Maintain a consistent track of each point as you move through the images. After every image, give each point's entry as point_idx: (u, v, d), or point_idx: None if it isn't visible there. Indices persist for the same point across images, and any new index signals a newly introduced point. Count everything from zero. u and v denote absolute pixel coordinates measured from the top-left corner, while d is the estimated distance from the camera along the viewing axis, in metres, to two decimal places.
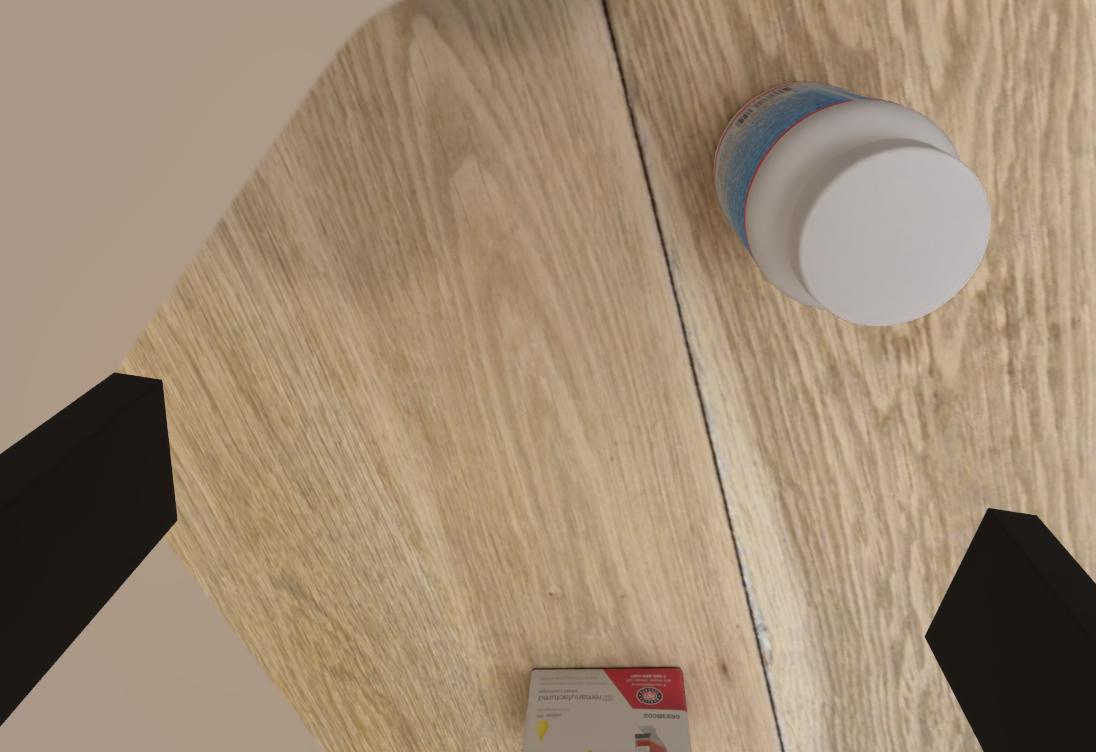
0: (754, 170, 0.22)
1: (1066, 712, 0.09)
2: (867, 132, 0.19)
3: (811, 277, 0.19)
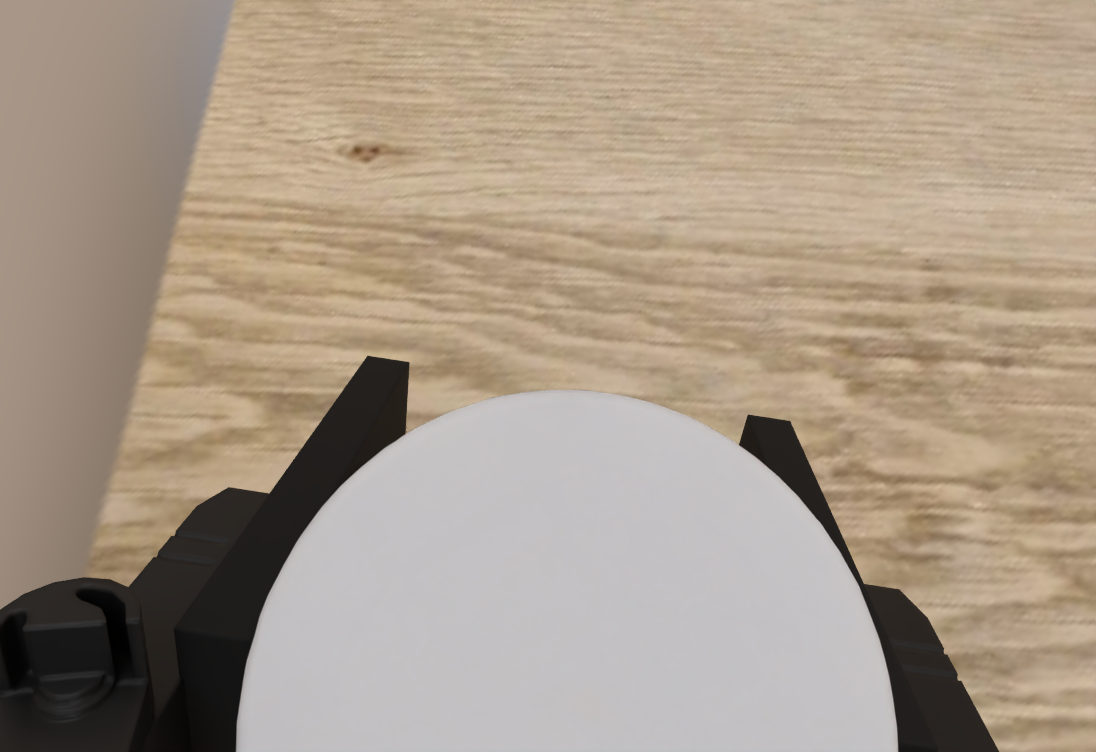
0: None
1: None
2: None
3: None
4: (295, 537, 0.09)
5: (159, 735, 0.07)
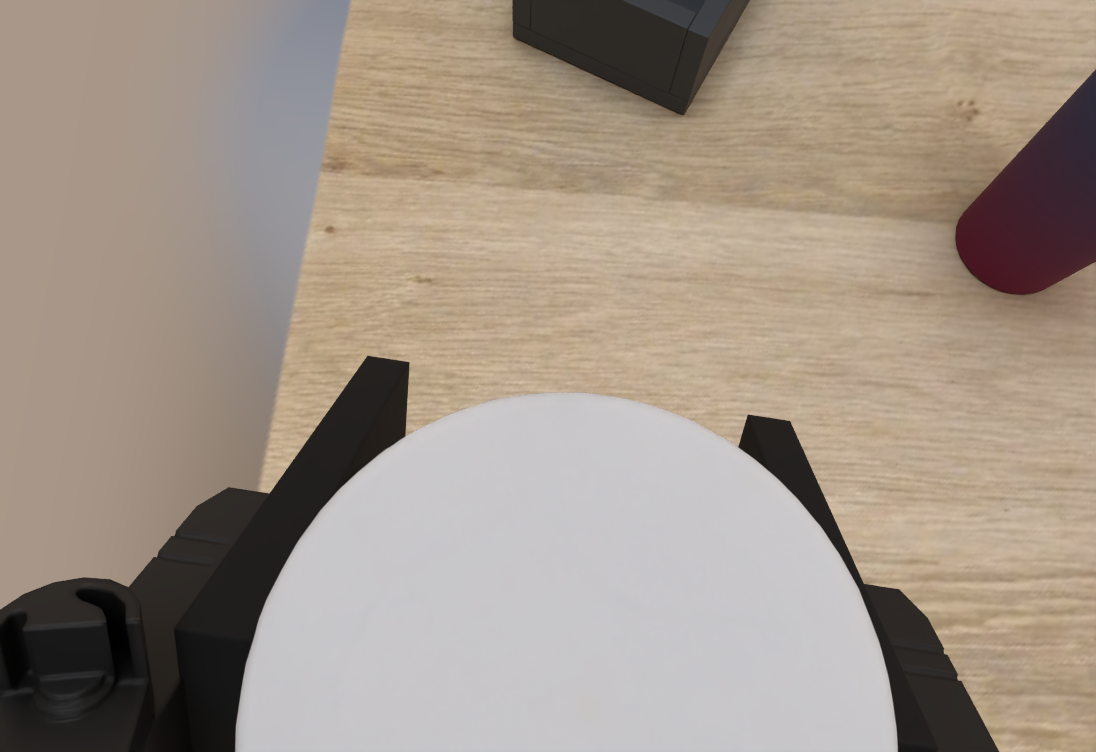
0: None
1: None
2: None
3: None
4: (295, 537, 0.09)
5: (158, 736, 0.07)
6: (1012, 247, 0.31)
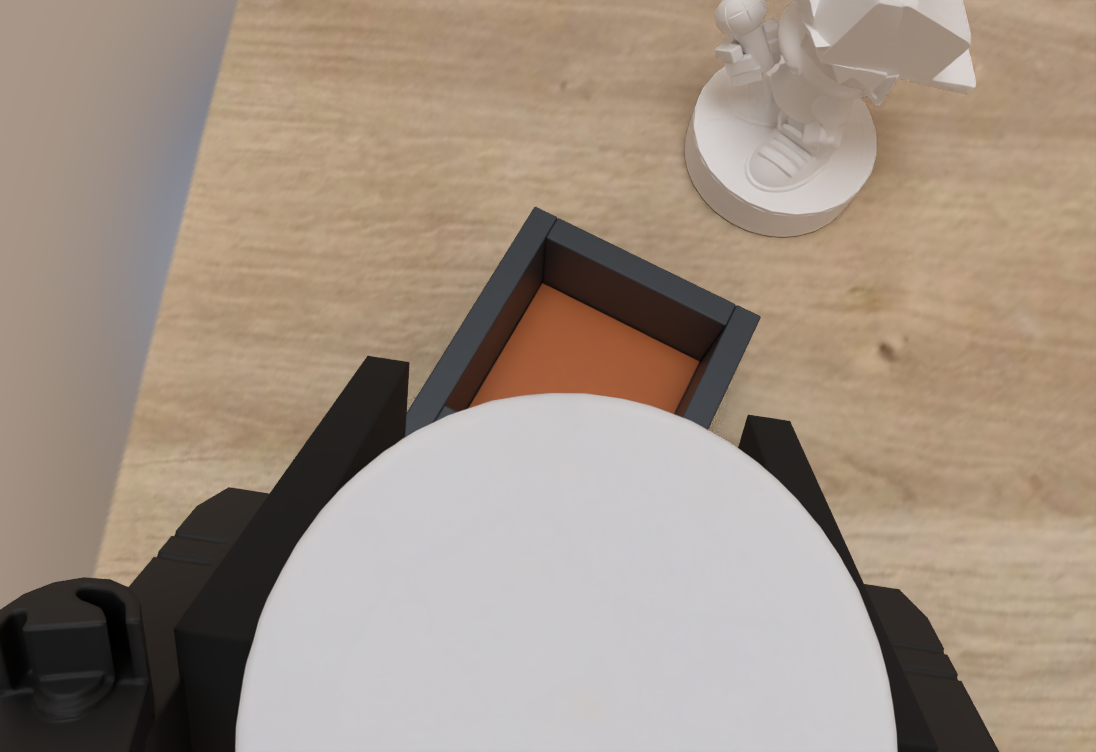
0: None
1: None
2: None
3: None
4: (295, 537, 0.09)
5: (159, 736, 0.07)
6: None
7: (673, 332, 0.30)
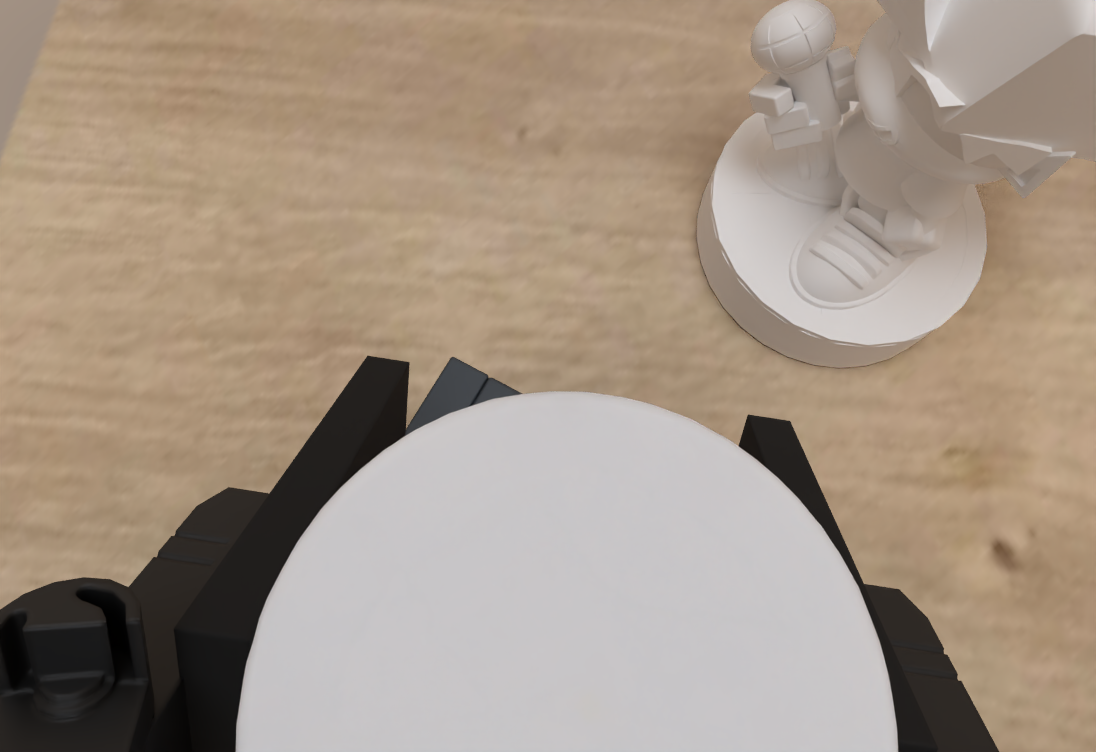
0: None
1: None
2: None
3: None
4: (295, 537, 0.09)
5: (157, 737, 0.07)
6: None
7: None
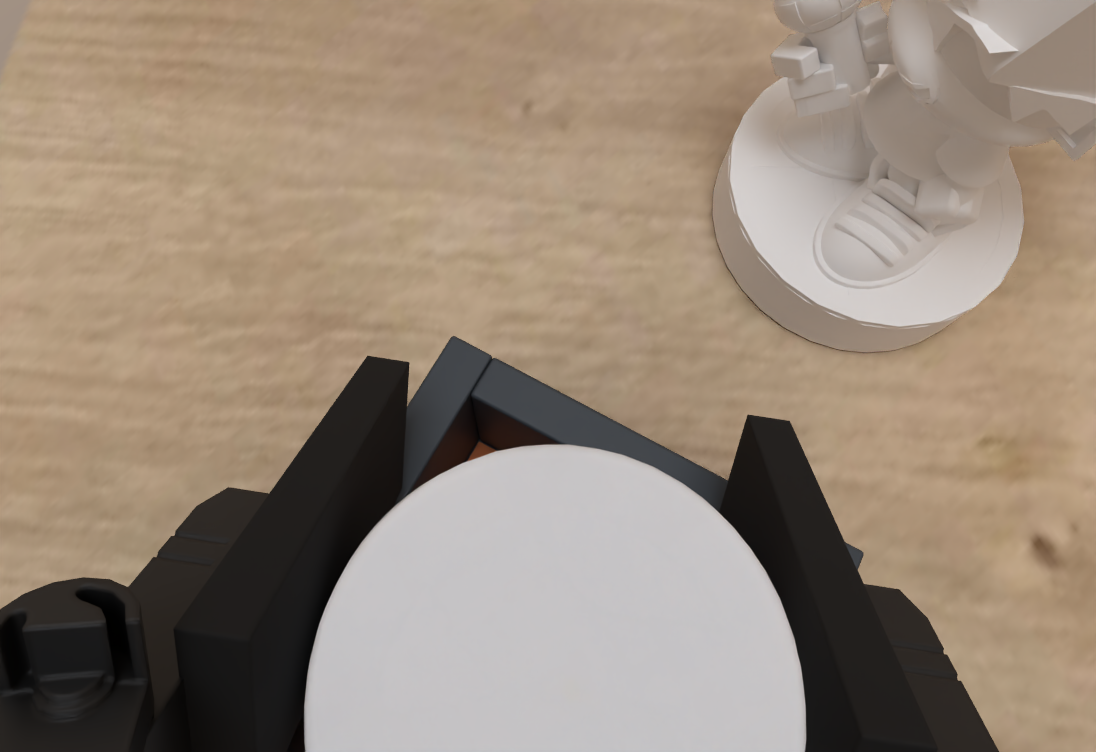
0: None
1: (764, 567, 0.11)
2: None
3: None
4: (295, 537, 0.09)
5: (158, 735, 0.07)
6: None
7: None
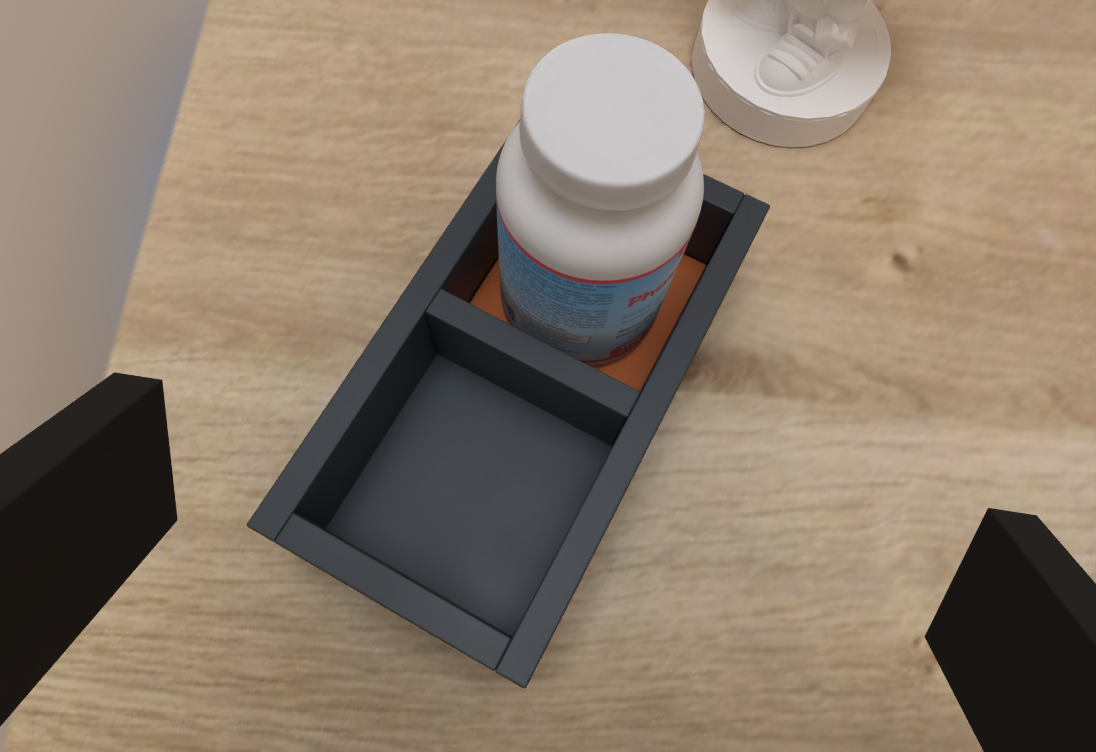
0: (531, 262, 0.21)
1: (1066, 712, 0.09)
2: (520, 144, 0.20)
3: (626, 177, 0.18)
4: None
5: None
6: None
7: None
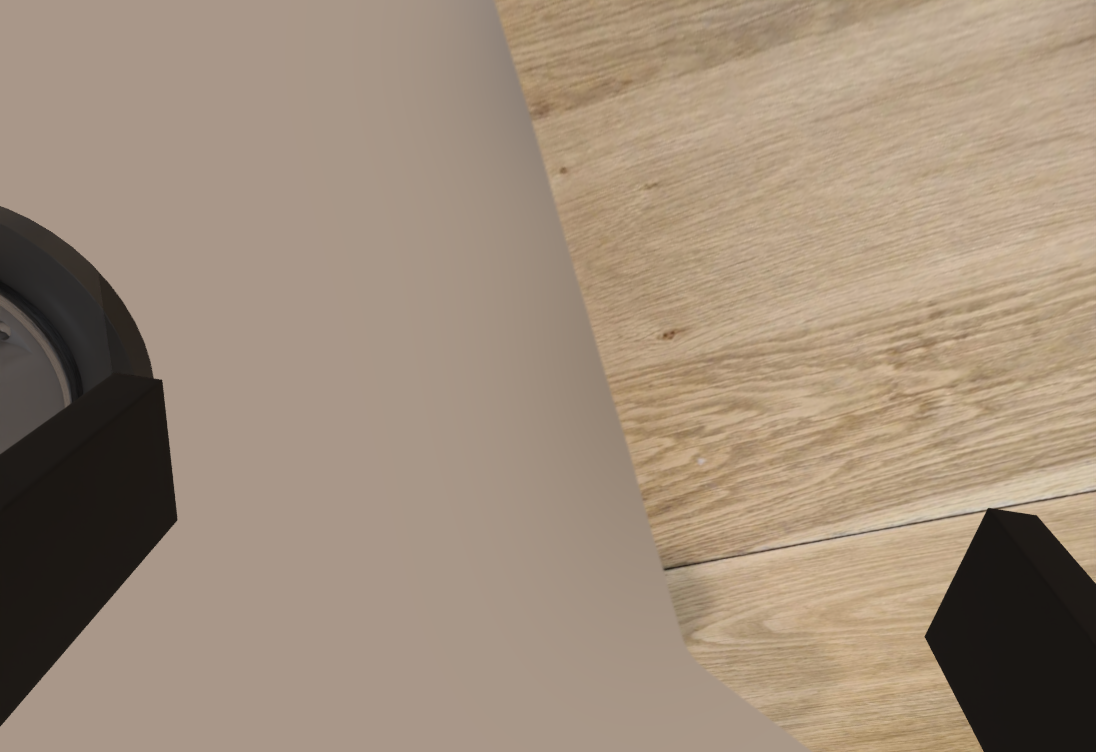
0: None
1: (1066, 712, 0.09)
2: None
3: None
4: None
5: None
6: None
7: None
